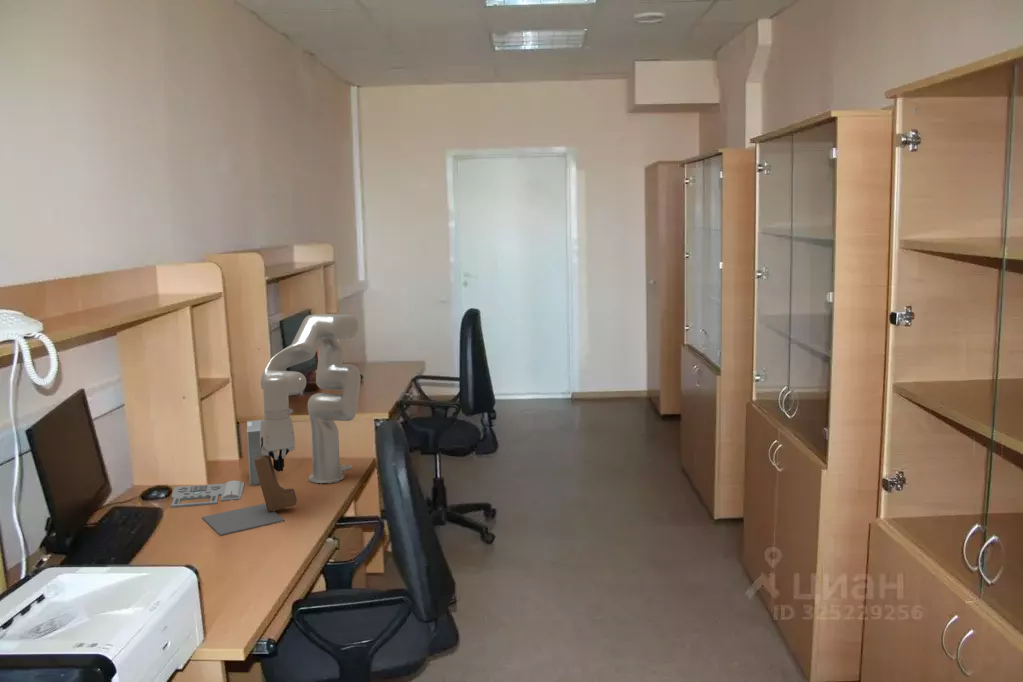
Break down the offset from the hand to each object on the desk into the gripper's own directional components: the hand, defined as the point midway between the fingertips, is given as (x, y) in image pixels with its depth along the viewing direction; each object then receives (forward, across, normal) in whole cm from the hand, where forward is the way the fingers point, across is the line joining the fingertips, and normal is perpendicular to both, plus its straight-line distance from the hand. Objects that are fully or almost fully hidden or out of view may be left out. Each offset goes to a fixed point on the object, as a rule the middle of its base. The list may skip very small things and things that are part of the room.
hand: (278, 470), depth 261 cm
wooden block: (+13, -1, 0) cm, 13 cm away
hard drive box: (+14, -7, -37) cm, 40 cm away
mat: (+14, +12, 0) cm, 18 cm away
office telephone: (+15, +14, -30) cm, 36 cm away
